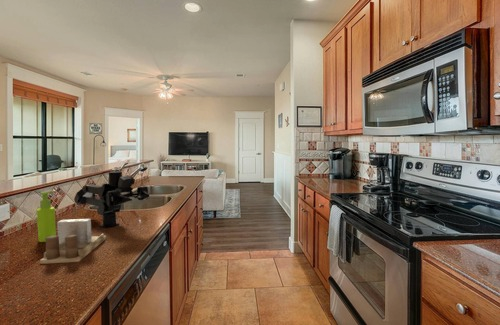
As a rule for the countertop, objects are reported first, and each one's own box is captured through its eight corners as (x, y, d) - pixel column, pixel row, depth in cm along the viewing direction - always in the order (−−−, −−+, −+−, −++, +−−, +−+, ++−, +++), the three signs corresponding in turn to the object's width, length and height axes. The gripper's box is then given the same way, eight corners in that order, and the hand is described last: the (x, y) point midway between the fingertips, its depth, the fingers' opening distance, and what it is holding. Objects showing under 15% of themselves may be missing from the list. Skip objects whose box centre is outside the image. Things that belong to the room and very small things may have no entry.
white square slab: (63, 245, 98) (62, 219, 97) (91, 244, 99) (90, 218, 98) (58, 249, 95) (57, 222, 94) (87, 247, 96) (86, 221, 95)
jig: (75, 239, 108) (74, 220, 107) (106, 238, 110) (105, 219, 109) (40, 263, 86) (38, 239, 86) (78, 261, 88) (77, 237, 87)
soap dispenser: (62, 237, 111) (59, 191, 110) (44, 242, 105) (42, 193, 103) (52, 235, 113) (50, 190, 112) (35, 241, 107) (32, 193, 105)
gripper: (98, 178, 113) (118, 181, 104) (137, 174, 128) (157, 177, 120) (99, 204, 114) (119, 209, 105) (137, 197, 129) (158, 200, 121)
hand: (139, 197), depth 113 cm, fingers open, 9 cm apart
